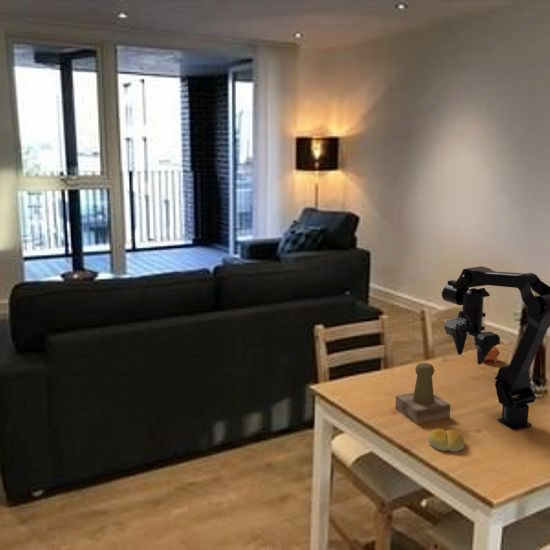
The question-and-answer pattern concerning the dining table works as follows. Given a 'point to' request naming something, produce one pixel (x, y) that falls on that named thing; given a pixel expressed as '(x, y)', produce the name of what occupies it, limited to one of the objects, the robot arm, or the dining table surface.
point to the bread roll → (446, 440)
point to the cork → (424, 384)
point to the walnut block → (422, 409)
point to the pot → (492, 354)
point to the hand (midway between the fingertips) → (469, 359)
